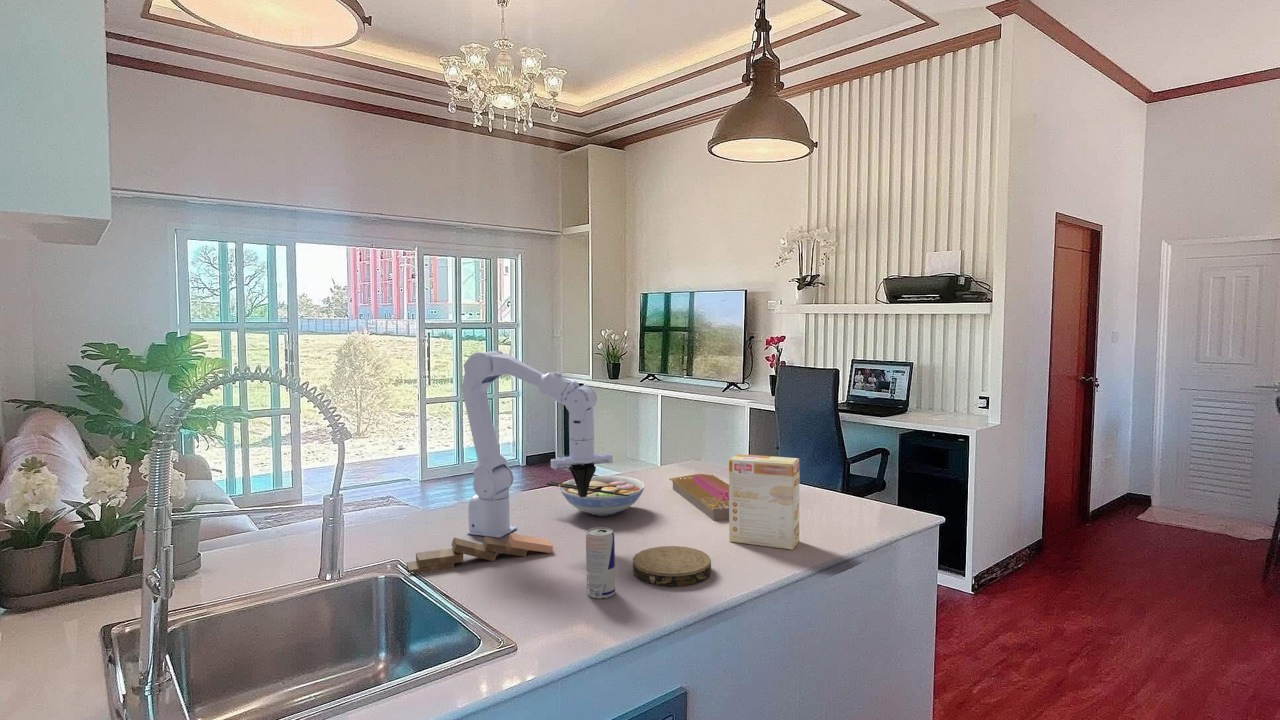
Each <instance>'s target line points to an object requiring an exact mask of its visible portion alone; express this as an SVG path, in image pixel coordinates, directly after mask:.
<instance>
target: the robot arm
mask: <svg viewBox="0 0 1280 720" xmlns="http://www.w3.org/2000/svg"><path fill="white" fill-rule="evenodd" d="M463 368H464V374H463V380H462V385H461V391H462V396H463V401H464V404H465V409H466V413H467V418H468V422H469V426H470V427H469V428H470V432H471V436H472V441H473V444H474V445H473V446H474V449H475V454H476V458H477V460H476V462H475V465H474V467H473V481H472V488H473V490H474V493H475V494H474V495H473V496H472V497H470V498H471V499H469V503H468V509H467V510H468V530H467V531H466V533H467V535H475V536H483V537H484V536H485V537H491V538H497V539H501V538H502V537H504V536H506V535H507V534H510V533H512V532H513V531H515V530H517V529H518V526H516V525H511V518H510V517H511V515H510V488H511V487H512V485H513V484H514V474H513V471H512V469H511V468H510V467H509V465H508V462H507V459H506V458H505V457H504V456H503V455H502V454H501V453H500V449H499V445H498V439H497V435H496V430H495V426H494V422H493V417H492V412H491V408H490V403H489V399H488V395H487V391H488V389H489V388H490V386H491V385H492V384H493V383H494V381H495V380H497V379H498V378H499V377H501V376H503V375H504V376H506V375H510V376H512V377H515V378H517V379H519V380H522V381H524V382H526V383H528V384H531V385H534V386H536V387H537V388H538V391H539V394H540V395H543V396H544V397H547V398H549V399H550V400H553V401H555V402H557V403H559V404H561V405H563V406H565V408H566V410H567V411H568V433H569V434H568V435H569V436H568V437H569V438H568V439H569V440H568V441H569V447H568V448H569V456H565V457H557V458H551V459H550V468H551V469H553V470H558V469H560V468H568V469H569V472H570V473H571V475H572V478H573V479H574V480H575V483H576V486H577V490H578V495H579V496H580V497H587V492H588V488H589V484H590V481H591V479H592V476H594V474H595V472H596V471H597V468H596V467H597V466H595V465H600V464H613V463H614V462H613V457H614V455H613V454H611V453H595V427H594V426H595V419H594V407H595V406H596V404H597V399H598V397H597V393H596V391H595V390H594V389H593V388H592V387H590V386H589V385H588V384H584V385H580V383H579V382H578V381H576V380H575V381H571V380H570V379H567V378H565V377H563V376H562V372H560V371H555V372H553V371H550V372H547V373H544V372H541V371H540V370H538V369H536V368H534V367H532V366H530V365H528V364H527V363H525V362H523V361H521V360H519V359H518V358H516V357H514V356H512V355H511V354H508V353H504V352H502V351H500V350H491V351H482V352H479V351H478V352H474V353H472V354H470V356H469V357H468V358H467V360H466V361H465V362H464V364H463Z"/></svg>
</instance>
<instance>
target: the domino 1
mask: <svg viewBox="0 0 1280 720" xmlns="http://www.w3.org/2000/svg"><path fill="white" fill-rule="evenodd" d="M407 567H408V570H409V572H413V573H420V574H424V573H423V572H426V573H431V572H430V571H432V572H437V571H436V570H439V571H444V570H443V569H445V570H451V569H455V563H451V564H444V565H437V566H429V567H422V568H419V567H418V564H417V562H416V560H415V561H414V560H413V561H410V562H408V561H407V562H406V568H407ZM408 570H407V571H408ZM421 572H422V573H421Z"/></svg>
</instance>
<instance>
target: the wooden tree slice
mask: <svg viewBox="0 0 1280 720" xmlns="http://www.w3.org/2000/svg"><path fill="white" fill-rule="evenodd" d="M711 568H712V559H711V557H710V556H709V555H708V554H707V553H706V552H704V551H702V550H699V549H696V548H693V547H687V546H680V545H679V546H676V545H665V546H656V547H650V548H647V549H643V550H641V551H639V552H638V553H636V554H635V555H634V556H633V558H632V572H633V573H634V574H633V576H634V578H636V580H637V581H639V580H640V581H639V582H642V583H644V582H645V583H644V584H646V583H647V584H646V585H650V584H651V585H650V586H654V585H655V586H656V587H663V588H684V587H685V588H686V587H690V586H696V585H698V584H701V583H704V582H705V581H706V580H707V579H709V578H710V576H711V573H712V569H711Z"/></svg>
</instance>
